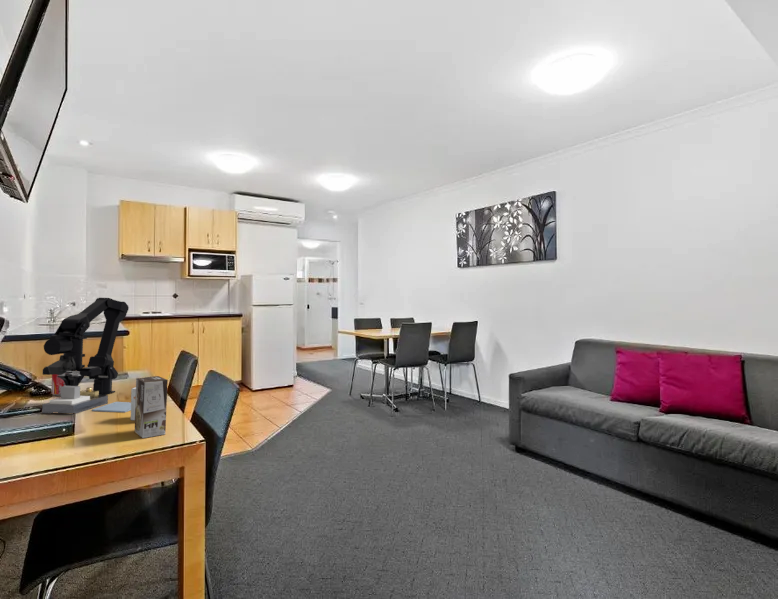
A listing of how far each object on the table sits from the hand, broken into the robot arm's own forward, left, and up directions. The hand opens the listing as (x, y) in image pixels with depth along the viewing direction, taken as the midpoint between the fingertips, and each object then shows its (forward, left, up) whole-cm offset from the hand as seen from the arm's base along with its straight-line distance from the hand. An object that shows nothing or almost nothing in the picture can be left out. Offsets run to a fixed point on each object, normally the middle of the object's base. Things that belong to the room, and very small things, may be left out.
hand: (71, 393), depth 154 cm
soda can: (-13, -15, -4) cm, 21 cm away
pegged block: (0, +7, -1) cm, 7 cm away
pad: (+3, +21, -4) cm, 21 cm away
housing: (+6, +7, -4) cm, 9 cm away
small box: (+15, +39, -4) cm, 42 cm away
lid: (+9, +7, -1) cm, 11 cm away
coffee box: (+29, +49, -4) cm, 57 cm away
